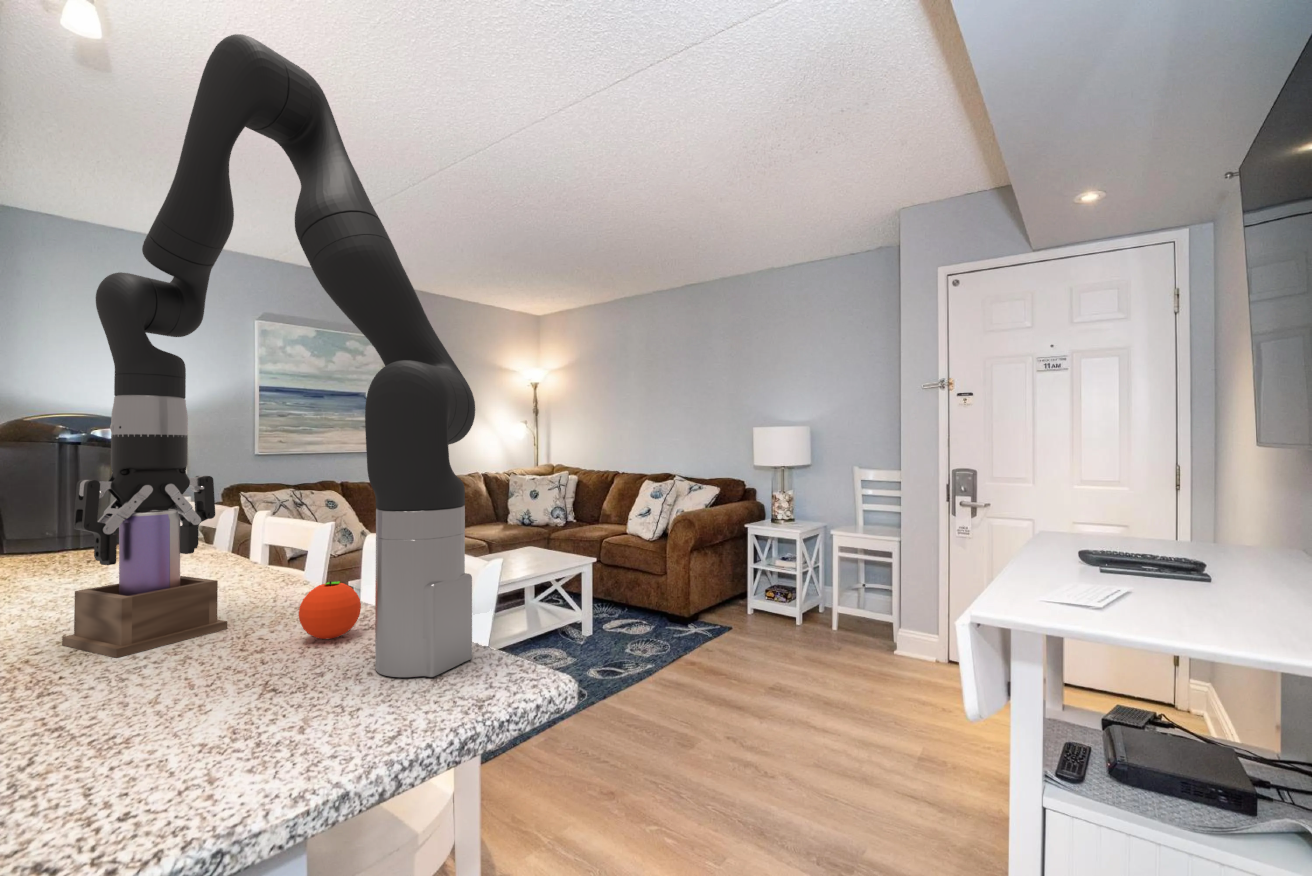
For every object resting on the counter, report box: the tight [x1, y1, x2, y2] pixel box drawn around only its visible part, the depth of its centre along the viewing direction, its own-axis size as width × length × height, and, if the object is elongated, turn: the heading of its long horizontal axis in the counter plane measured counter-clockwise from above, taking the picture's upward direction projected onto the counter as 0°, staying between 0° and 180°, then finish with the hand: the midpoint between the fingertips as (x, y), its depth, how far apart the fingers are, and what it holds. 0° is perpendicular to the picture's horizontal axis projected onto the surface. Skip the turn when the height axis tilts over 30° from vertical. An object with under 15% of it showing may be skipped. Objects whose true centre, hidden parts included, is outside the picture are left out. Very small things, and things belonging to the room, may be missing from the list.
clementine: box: [298, 580, 362, 640], centre depth 75 cm, size 8×7×7 cm
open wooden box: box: [61, 575, 228, 659], centre depth 76 cm, size 12×12×6 cm
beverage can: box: [118, 509, 181, 596], centre depth 76 cm, size 6×6×15 cm
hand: (149, 558), depth 76 cm, fingers open, 8 cm apart
